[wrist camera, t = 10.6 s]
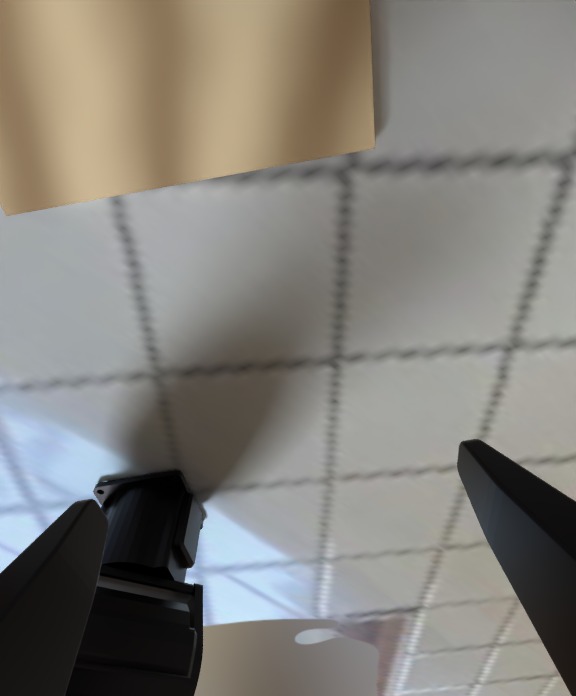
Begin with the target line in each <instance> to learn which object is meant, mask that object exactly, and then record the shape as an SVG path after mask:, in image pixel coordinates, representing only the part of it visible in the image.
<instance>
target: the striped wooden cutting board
mask: <svg viewBox="0 0 576 696" xmlns="http://www.w3.org/2000/svg"><path fill="white" fill-rule="evenodd" d="M374 148H375V133H374V105H373V78H372V50H371V23H370V0H0V205H1V207H2V209H3V211H4V213H5V214H6V216H9V215H14V214H20V213H25V212H31V211H36V210H42V209H47V208H52V207H58V206H63V205H69V204H74V203H80V202H85V201H91V200H96V199H102V198H107V197H112V196H118V195H123V194H129V193H134V192H140V191H145V190H151V189H156V188H162V187H167V186H172V185H178V184H183V183H189V182H194V181H200V180H205V179H211V178H216V177H222V176H227V175H232V174H238V173H243V172H249V171H254V170H260V169H265V168H271V167H276V166H282V165H287V164H292V163H298V162H303V161H309V160H314V159H320V158H325V157H331V156H336V155H342V154H347V153H352V152H358V151H363V150H369V149H374Z"/></svg>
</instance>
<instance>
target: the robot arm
mask: <svg viewBox="0 0 576 696" xmlns="http://www.w3.org/2000/svg"><path fill="white" fill-rule="evenodd" d="M457 468H458V472H459V475H460V478H461V480H462V483H463V485H464V487H465V490H466V492H467V495H468V497H469V499H470V502H471V504H472V506H473V509H474V511H475V514H476V516H477V518H478V521H479V523H480V526H481V528H482V530H483V532H484V535H485V537H486V539H487V541H488V543H489V545H490V547H491V549H492V550H493V552H494V554H495V556H496V558H497V560H498V561H499V563H500V565H501V567H502V569H503V571H504V572H505V574H506V576H507V578H508V580H509V582H510V583H511V585H512V587H513V589H514V591H515V593H516V594H517V596H518V598H519V600H520V602H521V604H522V605H523V607H524V609H525V611H526V613H527V615H528V616H529V618H530V620H531V622H532V624H533V626H534V627H535V629H536V631H537V633H538V635H539V637H540V638H541V640H542V642H543V644H544V646H545V648H546V649H547V651H548V653H549V655H550V657H551V659H552V660H553V662H554V664H555V666H556V668H557V670H558V672H559V673H560V675H561V677H562V679H563V681H564V683H565V684H566V686H567V688H568V690H569V692H570V694H571V695H572V696H576V501H574V500H573V499H571V498H569V497H568V496H566V495H565V494H563V493H562V492H560V491H559V490H557V489H556V488H554V487H552V486H551V485H549V484H548V483H546V482H545V481H543V480H542V479H540V478H539V477H537V476H535V475H534V474H532V473H531V472H529V471H528V470H526V469H525V468H523V467H522V466H520V465H518V464H517V463H515V462H514V461H512V460H511V459H509V458H508V457H506V456H504V455H503V454H501V453H500V452H498V451H497V450H495V449H494V448H492V447H491V446H489V445H487V444H486V443H484V442H483V441H481V440H479V439H473V440H466V441H462V442H461V443H460V445H459V453H458V462H457ZM175 477H176V478H175ZM93 492H94V494H95V496H96V497H97V499H98V500H99V502H100V504H101V505H102V507H101V508H100V506H99V505H98V504H97V502H96V501H95V500H93V499H88V500H81V501H77V502H75V503H74V504H72V505H71V506H70V507H69V508H68V509H67V510H66V511H65V512H64V513H63V514H62V515H61V516H60V517H59V518H58V519H57V520H56V521H54V522H53V523H52V524H51V525H50V526H49V527H48V528H47V529H46V530H45V531H44V532H43V533H42V534H41V535H40V536H39V537H38V538H37V539H36V540H35V541H34V542H33V543H32V544H30V545H29V546H28V547H27V548H26V549H25V550H24V551H23V552H22V553H21V554H20V555H19V556H18V557H17V558H16V559H15V560H14V561H13V562H12V563H11V564H10V565H9V566H7V567H6V568H5V569H4V570H3V571H2V572H1V573H0V696H194V693H195V690H196V686H197V682H198V678H199V673H200V668H201V661H202V653H203V585H200V584H195V583H194V585H192V584H188V583H184V581H185V576H186V570H187V568H192V566H193V565H194V564H195V558H196V552H197V545H198V539H199V533H200V530H201V529H202V527H203V520H202V512H201V510H200V508H199V505H198V503H197V501H196V498H195V496H194V494H193V493H191V492H190V490H189V488H188V485H187V483H186V481H185V479H184V476H183V474H182V473H181V472H180V471H177V470H174V471H168V472H162V473H156V474H150V475H144V476H138V477H132V478H126V479H120V480H114V481H108V482H102V483H98V484H97V485H96V486H95V488H94V491H93Z"/></svg>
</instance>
